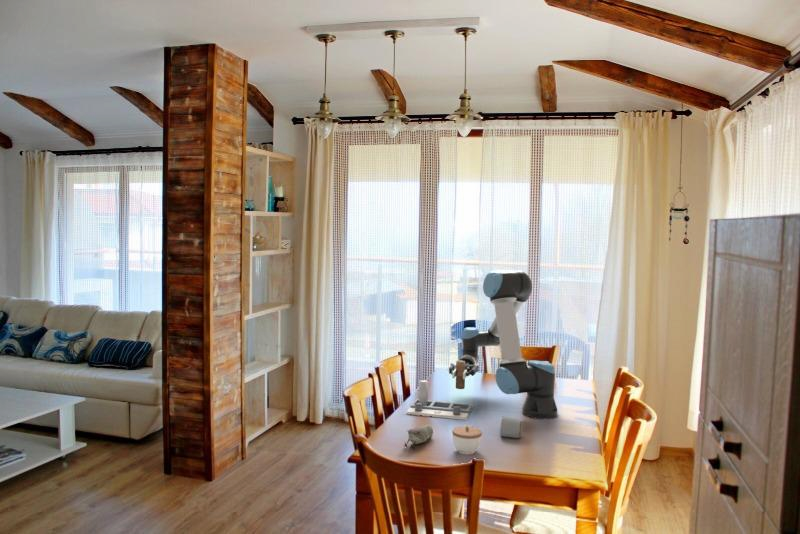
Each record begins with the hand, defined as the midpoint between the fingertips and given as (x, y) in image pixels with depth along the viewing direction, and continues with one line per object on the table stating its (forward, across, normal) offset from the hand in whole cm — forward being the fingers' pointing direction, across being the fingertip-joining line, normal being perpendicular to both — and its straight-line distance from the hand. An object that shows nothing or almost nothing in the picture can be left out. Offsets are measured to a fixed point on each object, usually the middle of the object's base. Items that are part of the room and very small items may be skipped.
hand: (458, 375), depth 262 cm
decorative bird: (+40, +7, -17) cm, 45 cm away
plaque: (+4, +8, -17) cm, 19 cm away
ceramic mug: (+21, -25, -17) cm, 37 cm away
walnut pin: (-5, 0, -7) cm, 9 cm away
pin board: (-5, +8, -17) cm, 20 cm away
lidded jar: (+43, -11, -17) cm, 47 cm away
